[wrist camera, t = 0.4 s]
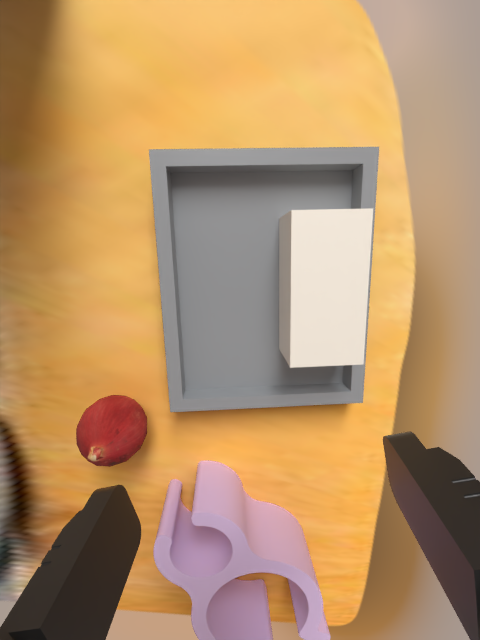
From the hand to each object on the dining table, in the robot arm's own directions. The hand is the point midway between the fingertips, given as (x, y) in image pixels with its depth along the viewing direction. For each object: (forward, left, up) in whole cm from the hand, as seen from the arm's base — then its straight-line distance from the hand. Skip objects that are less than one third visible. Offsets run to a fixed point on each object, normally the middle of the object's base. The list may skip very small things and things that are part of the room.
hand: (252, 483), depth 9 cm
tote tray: (-4, +3, -21) cm, 21 cm away
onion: (+8, -11, -21) cm, 25 cm away
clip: (+24, 0, -21) cm, 32 cm away
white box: (-4, +7, -20) cm, 22 cm away
